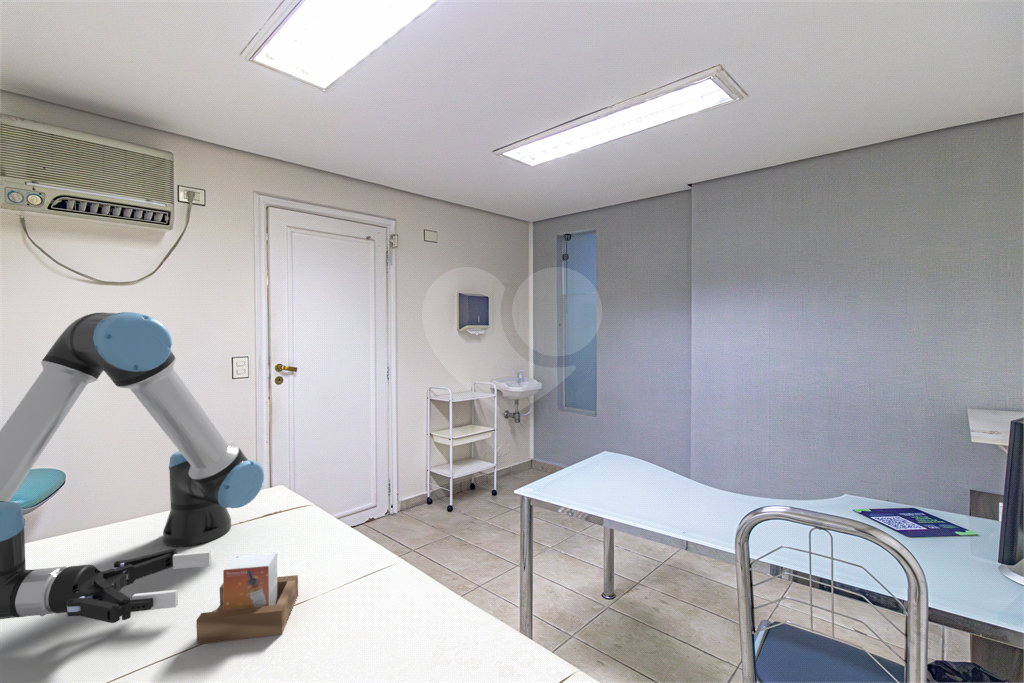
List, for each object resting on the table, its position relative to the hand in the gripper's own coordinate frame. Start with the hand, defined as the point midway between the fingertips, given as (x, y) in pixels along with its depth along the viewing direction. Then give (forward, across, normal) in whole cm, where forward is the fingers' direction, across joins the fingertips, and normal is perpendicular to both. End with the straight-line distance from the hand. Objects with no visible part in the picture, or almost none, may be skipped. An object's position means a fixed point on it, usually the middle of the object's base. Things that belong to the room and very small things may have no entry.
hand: (194, 576), depth 87 cm
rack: (+10, 0, -9) cm, 13 cm away
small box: (+10, 0, -8) cm, 13 cm away
